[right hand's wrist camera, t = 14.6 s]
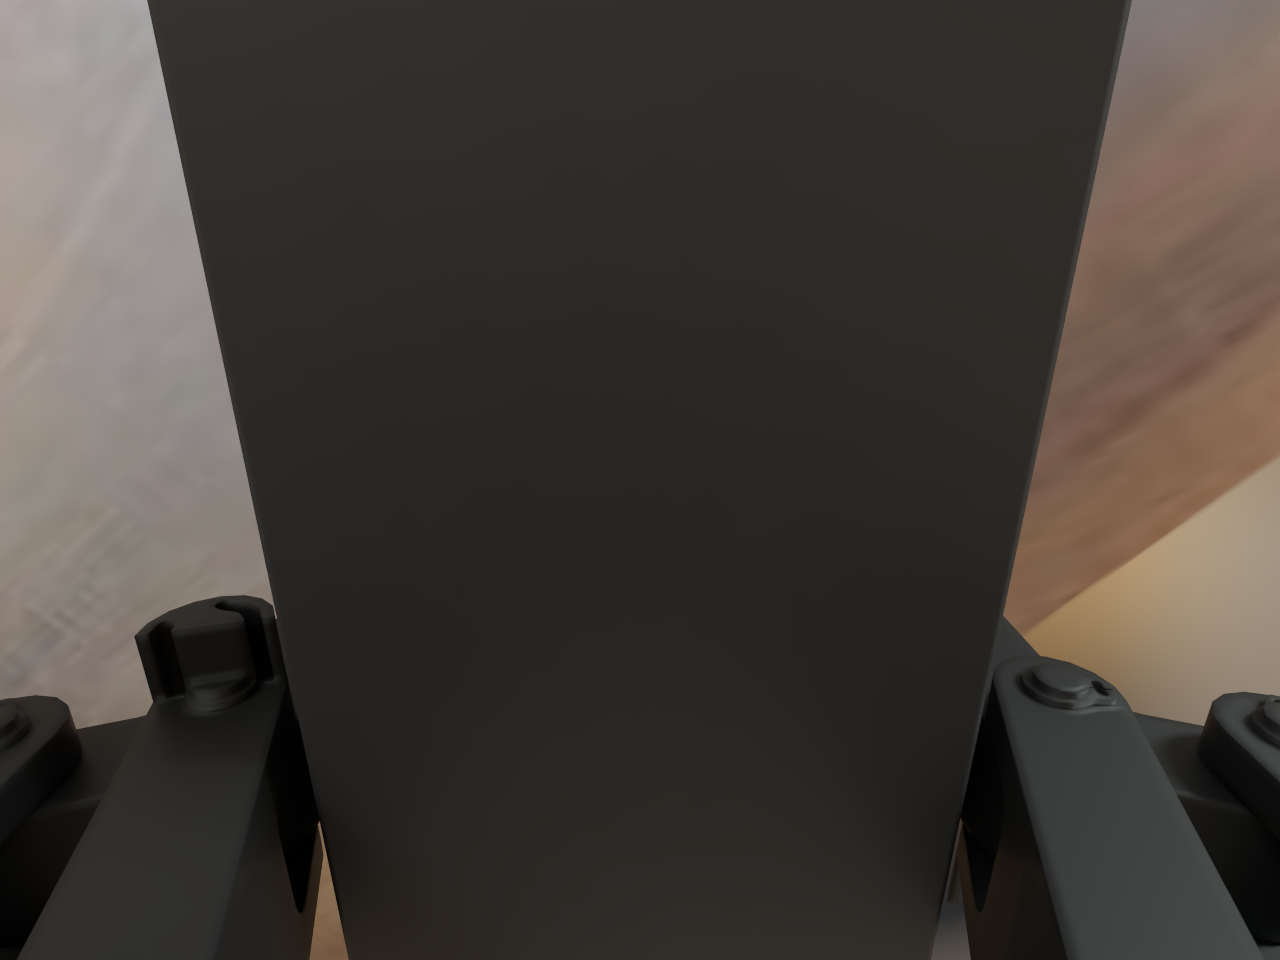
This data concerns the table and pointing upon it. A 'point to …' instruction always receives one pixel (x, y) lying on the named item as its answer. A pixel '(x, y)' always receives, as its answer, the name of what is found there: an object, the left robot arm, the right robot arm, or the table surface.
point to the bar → (639, 438)
